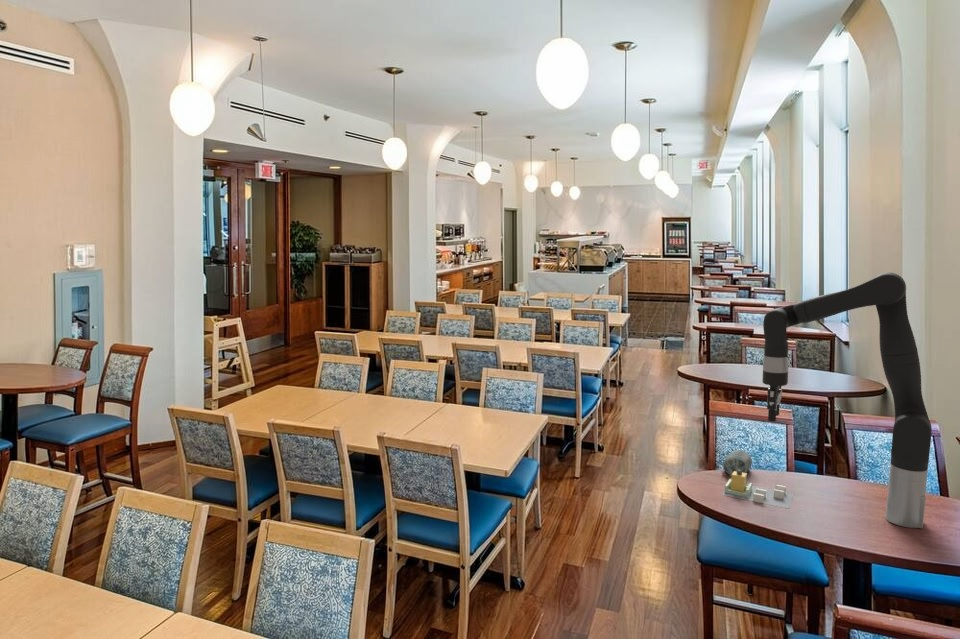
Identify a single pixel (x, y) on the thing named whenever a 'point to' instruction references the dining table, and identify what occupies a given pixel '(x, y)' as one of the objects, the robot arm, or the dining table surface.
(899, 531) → the dining table surface
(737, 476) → the yellow drawer
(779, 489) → the white blocks
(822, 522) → the dining table surface
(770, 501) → the board
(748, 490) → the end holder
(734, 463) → the spool
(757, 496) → the white blocks
